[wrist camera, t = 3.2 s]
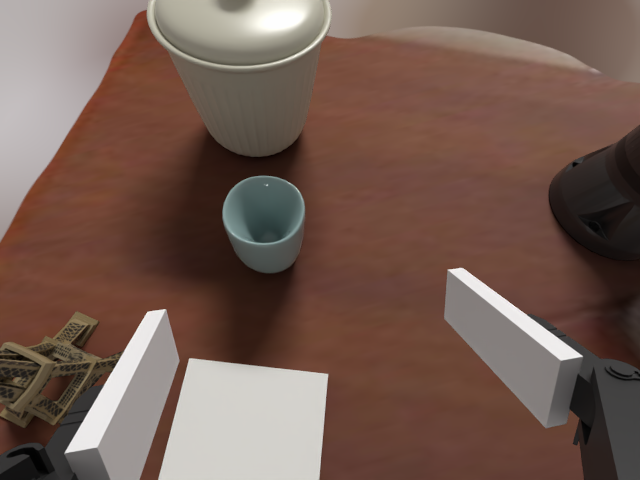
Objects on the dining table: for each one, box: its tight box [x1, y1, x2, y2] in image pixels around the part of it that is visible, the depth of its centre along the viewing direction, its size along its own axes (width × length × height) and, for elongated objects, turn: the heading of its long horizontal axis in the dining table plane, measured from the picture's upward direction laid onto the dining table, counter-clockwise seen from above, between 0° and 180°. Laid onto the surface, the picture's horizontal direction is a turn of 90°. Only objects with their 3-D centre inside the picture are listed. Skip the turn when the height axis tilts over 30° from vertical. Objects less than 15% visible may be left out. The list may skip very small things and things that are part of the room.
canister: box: [147, 0, 332, 157], centre depth 39 cm, size 18×18×21 cm
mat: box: [158, 358, 328, 480], centre depth 31 cm, size 16×14×1 cm
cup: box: [222, 176, 305, 274], centre depth 36 cm, size 8×8×10 cm
